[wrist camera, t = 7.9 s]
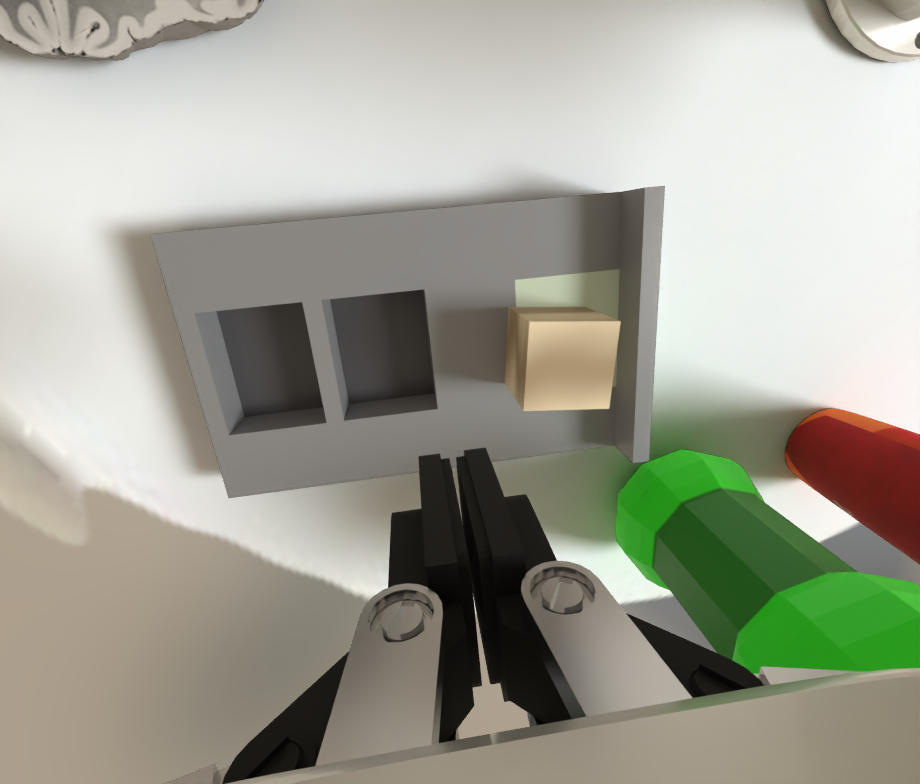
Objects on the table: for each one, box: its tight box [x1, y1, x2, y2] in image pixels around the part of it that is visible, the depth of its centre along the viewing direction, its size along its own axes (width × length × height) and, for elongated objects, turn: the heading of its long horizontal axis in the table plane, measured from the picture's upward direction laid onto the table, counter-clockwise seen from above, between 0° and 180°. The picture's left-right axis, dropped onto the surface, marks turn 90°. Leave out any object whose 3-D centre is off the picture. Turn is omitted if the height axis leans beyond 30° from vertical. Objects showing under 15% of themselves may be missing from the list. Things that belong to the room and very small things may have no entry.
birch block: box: [504, 307, 621, 411], centre depth 25 cm, size 4×4×4 cm
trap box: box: [150, 186, 665, 498], centre depth 26 cm, size 15×25×6 cm, turn 95°
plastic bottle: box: [615, 449, 920, 674], centre depth 23 cm, size 10×10×25 cm
